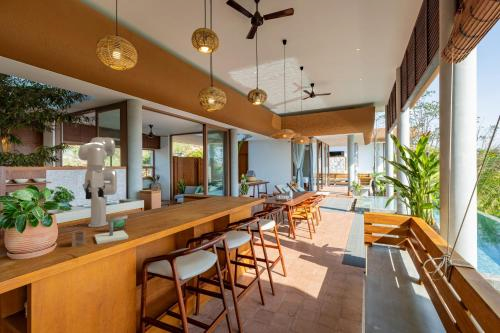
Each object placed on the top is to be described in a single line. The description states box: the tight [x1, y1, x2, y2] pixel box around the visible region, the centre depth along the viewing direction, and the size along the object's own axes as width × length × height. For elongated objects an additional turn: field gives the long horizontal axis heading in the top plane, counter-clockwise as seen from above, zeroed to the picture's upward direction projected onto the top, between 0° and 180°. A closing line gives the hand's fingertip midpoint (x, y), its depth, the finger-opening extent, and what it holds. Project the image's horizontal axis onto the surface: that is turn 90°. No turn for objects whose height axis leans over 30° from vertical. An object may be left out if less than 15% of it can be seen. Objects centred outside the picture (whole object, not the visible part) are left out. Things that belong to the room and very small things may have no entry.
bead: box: [71, 230, 87, 248], centre depth 131 cm, size 6×6×6 cm
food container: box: [107, 215, 129, 232], centre depth 157 cm, size 12×6×10 cm, turn 101°
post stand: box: [94, 222, 129, 245], centre depth 142 cm, size 16×16×10 cm
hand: (94, 198), depth 134 cm, fingers open, 9 cm apart
